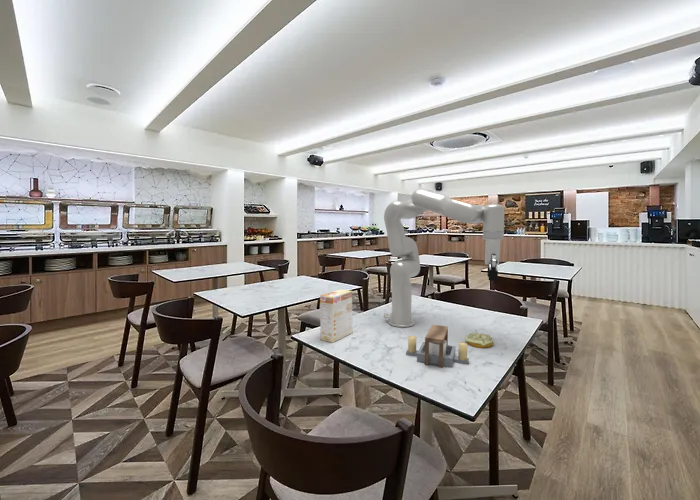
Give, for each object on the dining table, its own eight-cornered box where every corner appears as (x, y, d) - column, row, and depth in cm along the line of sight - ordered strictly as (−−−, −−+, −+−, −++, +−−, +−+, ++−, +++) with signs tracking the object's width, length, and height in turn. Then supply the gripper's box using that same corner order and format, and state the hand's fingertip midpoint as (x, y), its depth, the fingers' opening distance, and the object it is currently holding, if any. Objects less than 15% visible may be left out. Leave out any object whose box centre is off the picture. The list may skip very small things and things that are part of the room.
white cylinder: (436, 364, 114) (436, 345, 113) (423, 357, 120) (423, 339, 119) (450, 360, 117) (450, 341, 116) (437, 353, 123) (437, 335, 122)
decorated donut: (460, 345, 132) (461, 336, 132) (472, 338, 140) (472, 329, 139) (486, 352, 125) (487, 342, 124) (497, 344, 132) (497, 335, 132)
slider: (403, 359, 117) (403, 341, 116) (410, 347, 128) (410, 331, 127) (467, 369, 108) (468, 350, 108) (469, 356, 119) (469, 338, 119)
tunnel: (424, 366, 112) (425, 337, 112) (431, 350, 126) (431, 324, 126) (442, 369, 110) (443, 339, 109) (447, 352, 124) (448, 326, 123)
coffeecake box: (340, 330, 151) (340, 288, 149) (353, 333, 147) (353, 290, 145) (319, 339, 139) (319, 294, 137) (332, 343, 135) (332, 297, 133)
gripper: (482, 235, 138) (481, 274, 139) (483, 236, 122) (482, 281, 123) (501, 235, 135) (500, 275, 137) (505, 236, 119) (504, 282, 120)
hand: (492, 278), depth 130 cm, fingers open, 9 cm apart
